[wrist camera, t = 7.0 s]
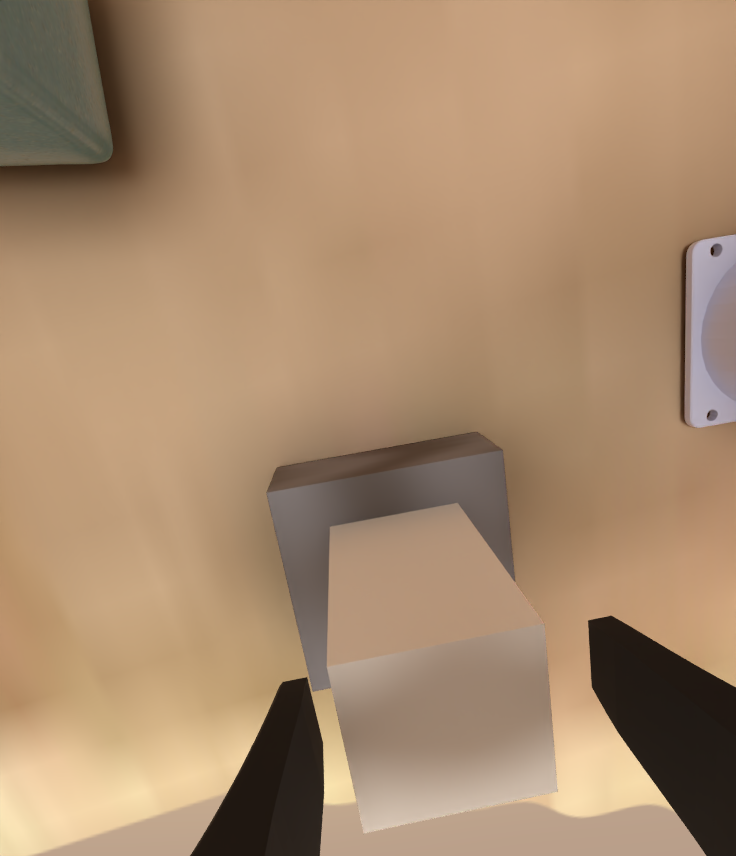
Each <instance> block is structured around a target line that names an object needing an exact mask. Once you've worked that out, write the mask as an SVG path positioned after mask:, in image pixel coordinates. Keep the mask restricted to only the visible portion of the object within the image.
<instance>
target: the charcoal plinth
mask: <svg viewBox="0 0 736 856" xmlns="http://www.w3.org/2000/svg"><path fill="white" fill-rule="evenodd" d="M267 497H268V502H269V506H270V510H271V515H272V519H273V523H274V527H275V532H276V536H277V540H278V545H279V549H280V553H281V557H282V562H283V566H284V570H285V575H286V579H287V583H288V587H289V592H290V596H291V600H292V605H293V609H294V613H295V617H296V622H297V626H298V630H299V635H300V639H301V643H302V647H303V652H304V656H305V660H306V665H307V669H308V673H309V677H310V682H311V686H312V690H313V691H318V690H323V689H328V688H331V684H330V679H329V675H328V670H327V632H328V587H329V542H330V527H331V526H336V525H342V524H347V523H352V522H358V521H363V520H368V519H374V518H379V517H384V516H390V515H395V514H400V513H406V512H411V511H416V510H422V509H427V508H432V507H438V506H443V505H449V504H454V503H458V504H459V505H460V507H461V508H462V509H463V511H464V512H465V514H466V515H467V516H468V518H469V519H470V521H471V522H472V523H473V525H474V526H475V528H476V529H477V530H478V532H479V533H480V535H481V536H482V537H483V539H484V540H485V541H486V543H487V544H488V546H489V547H490V548H491V550H492V551H493V553H494V554H495V555H496V557H497V558H498V560H499V561H500V562H501V564H502V565H503V567H504V568H505V569H506V571H507V572H508V573H509V575H510V576H511V578H512V579H513V580H514V582H515V576H514V565H513V554H512V544H511V533H510V522H509V511H508V501H507V490H506V479H505V468H504V458H503V450H502V449H501V448H499V447H498V446H496V445H495V444H494V443H492V442H491V441H489V440H488V439H486V438H485V437H484V436H482V435H481V434H479V433H478V432H473V433H468V434H462V435H456V436H451V437H445V438H440V439H434V440H428V441H423V442H417V443H412V444H406V445H401V446H395V447H389V448H384V449H378V450H373V451H367V452H362V453H356V454H350V455H345V456H339V457H334V458H328V459H322V460H317V461H311V462H306V463H300V464H295V465H289V466H283V467H278V468H277V469H276V471H275V474H274V476H273V478H272V481H271V483H270V486H269V488H268V490H267Z"/></svg>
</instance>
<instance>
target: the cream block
mask: <svg viewBox="0 0 736 856" xmlns="http://www.w3.org/2000/svg"><path fill="white" fill-rule="evenodd" d="M327 670H328V675H329V679H330V684H331V688H332V693H333V697H334V702H335V706H336V711H337V715H338V720H339V724H340V729H341V733H342V738H343V742H344V747H345V751H346V756H347V760H348V765H349V769H350V774H351V778H352V783H353V787H354V792H355V796H356V800H357V805H358V809H359V814H360V818H361V823H362V827H363V832H364V833H368V832H373V831H377V830H382V829H387V828H391V827H396V826H401V825H406V824H410V823H415V822H419V821H424V820H428V819H433V818H438V817H442V816H447V815H452V814H457V813H461V812H466V811H470V810H475V809H480V808H484V807H489V806H494V805H498V804H503V803H508V802H512V801H517V800H522V799H526V798H531V797H535V796H540V795H545V794H549V793H554V792H558V789H557V776H556V763H555V751H554V738H553V725H552V713H551V700H550V688H549V675H548V662H547V650H546V637H545V624H544V622H543V621H542V619H541V618H540V617H539V615H538V614H537V612H536V611H535V610H534V608H533V607H532V606H531V604H530V603H529V601H528V600H527V599H526V597H525V596H524V594H523V593H522V592H521V590H520V589H519V587H518V586H517V585H516V583H515V582H514V580H513V579H512V578H511V576H510V575H509V573H508V572H507V571H506V569H505V568H504V567H503V565H502V564H501V562H500V561H499V560H498V558H497V557H496V555H495V554H494V553H493V551H492V550H491V548H490V547H489V546H488V544H487V543H486V541H485V540H484V539H483V537H482V536H481V535H480V533H479V532H478V530H477V529H476V528H475V526H474V525H473V523H472V522H471V521H470V519H469V518H468V516H467V515H466V514H465V512H464V511H463V509H462V508H461V507H460V505H459V504H458V503H454V504H449V505H443V506H438V507H432V508H427V509H422V510H416V511H411V512H406V513H400V514H395V515H390V516H384V517H379V518H374V519H368V520H363V521H358V522H352V523H347V524H342V525H336V526H331V527H330V542H329V587H328V632H327Z"/></svg>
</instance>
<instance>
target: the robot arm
mask: <svg viewBox="0 0 736 856" xmlns="http://www.w3.org/2000/svg"><path fill="white" fill-rule="evenodd" d="M711 247H713V248H714V254H713V256H712V255H711V253H710V250H711ZM709 411H710V415H709V417H708V418H707V417H706V416H707V413H708V412H709ZM735 421H736V234H734V235H728V236H722V237H716V238H710V239H704V240H700V241H697V242H694V243H693V244H691V245H690V246H689V248H688V250H687V254H686V330H685V422H686V423H687V424H688V425H689V426H692V427H696V428H702V427H707V426H713V425H718V424H724V423H729V422H735ZM588 627H589V644H590V662H591V680H592V688H593V690H594V692H595V693H596V695H597V697H598V699H599V701H600V702H601V704H602V706H603V708H604V709H605V711H606V713H607V715H608V716H609V718H610V720H611V721H612V723H613V725H614V726H615V728H616V730H617V731H618V733H619V734H620V736H621V737H622V738H623V740H624V741H625V743H626V744H627V746H628V747H629V748H630V750H631V751H632V753H633V754H634V755H635V757H636V758H637V760H638V761H639V762H640V764H641V765H642V767H643V768H644V769H645V771H646V772H647V773H648V775H649V776H650V778H651V779H652V780H653V782H654V783H655V784H656V786H657V787H658V789H659V790H660V791H661V793H662V794H663V795H664V797H665V798H666V800H667V801H668V802H669V804H670V805H671V806H672V808H673V809H674V811H675V812H676V813H677V815H678V816H679V817H680V819H681V820H682V821H683V823H684V824H685V826H686V827H687V829H688V830H689V831H690V833H691V834H692V835H693V837H694V838H695V840H696V841H697V842H698V844H699V845H700V847H701V848H702V850H703V851H704V853H705V854H706V856H736V687H734V686H732V685H730V684H728V683H727V682H725V681H723V680H721V679H719V678H717V677H716V676H714V675H712V674H710V673H708V672H707V671H705V670H703V669H701V668H700V667H698V666H696V665H694V664H693V663H691V662H689V661H687V660H686V659H684V658H682V657H681V656H679V655H677V654H675V653H674V652H672V651H670V650H669V649H667V648H665V647H664V646H662V645H660V644H659V643H657V642H655V641H653V640H652V639H650V638H648V637H647V636H645V635H643V634H642V633H640V632H638V631H637V630H635V629H633V628H632V627H630V626H628V625H627V624H625V623H623V622H622V621H620V620H618V619H616V618H614V617H613V616H608V617H603V618H598V619H593V620H588ZM323 800H324V765H323V741H322V737H321V733H320V729H319V725H318V721H317V716H316V712H315V708H314V704H313V700H312V696H311V692H310V688H309V684H308V679H307V677H306V678H301V679H296V680H291V681H286V682H283V683H282V684H281V685H280V687H279V689H278V691H277V693H276V696H275V698H274V700H273V703H272V705H271V707H270V709H269V712H268V714H267V716H266V718H265V720H264V722H263V725H262V727H261V729H260V731H259V733H258V735H257V737H256V739H255V741H254V743H253V745H252V747H251V749H250V751H249V753H248V755H247V757H246V759H245V761H244V763H243V765H242V767H241V769H240V771H239V773H238V775H237V777H236V778H235V780H234V782H233V784H232V786H231V787H230V789H229V791H228V793H227V795H226V796H225V799H224V800H223V802H222V804H221V805H220V807H219V809H218V811H217V812H216V814H215V816H214V818H213V819H212V821H211V823H210V825H209V826H208V828H207V830H206V831H205V833H204V835H203V836H202V838H201V840H200V841H199V843H198V844H197V846H196V848H195V849H194V851H193V852H192V854H191V855H190V856H320V844H321V829H322V814H323Z"/></svg>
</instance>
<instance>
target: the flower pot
mask: <svg viewBox="0 0 736 856" xmlns="http://www.w3.org/2000/svg"><path fill="white" fill-rule="evenodd" d="M112 153H113V143H112V136H111V130H110V125H109V120H108V115H107V109H106V103H105V98H104V92H103V87H102V81H101V75H100V70H99V64H98V58H97V53H96V47H95V42H94V36H93V30H92V25H91V19H90V13H89V7H88V1H87V0H0V166H23V165H56V164H95V163H102V162H105V161H107V160H108V159H109V158H110V157H111V155H112Z"/></svg>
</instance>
